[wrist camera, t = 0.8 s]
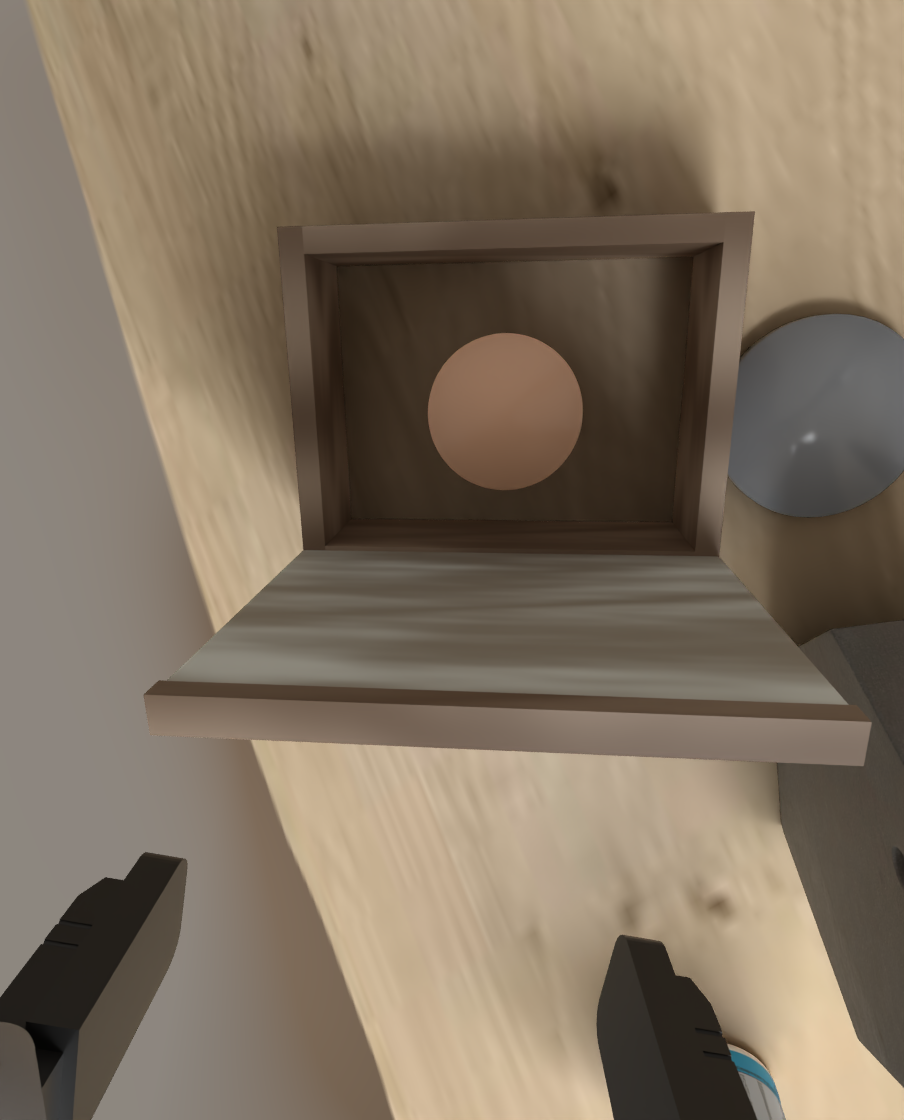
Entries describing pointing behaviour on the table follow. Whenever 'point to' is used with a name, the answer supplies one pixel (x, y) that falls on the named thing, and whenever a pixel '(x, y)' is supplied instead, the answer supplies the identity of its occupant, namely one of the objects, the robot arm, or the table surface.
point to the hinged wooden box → (514, 563)
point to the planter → (858, 836)
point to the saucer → (819, 415)
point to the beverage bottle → (757, 1085)
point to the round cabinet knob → (505, 411)
